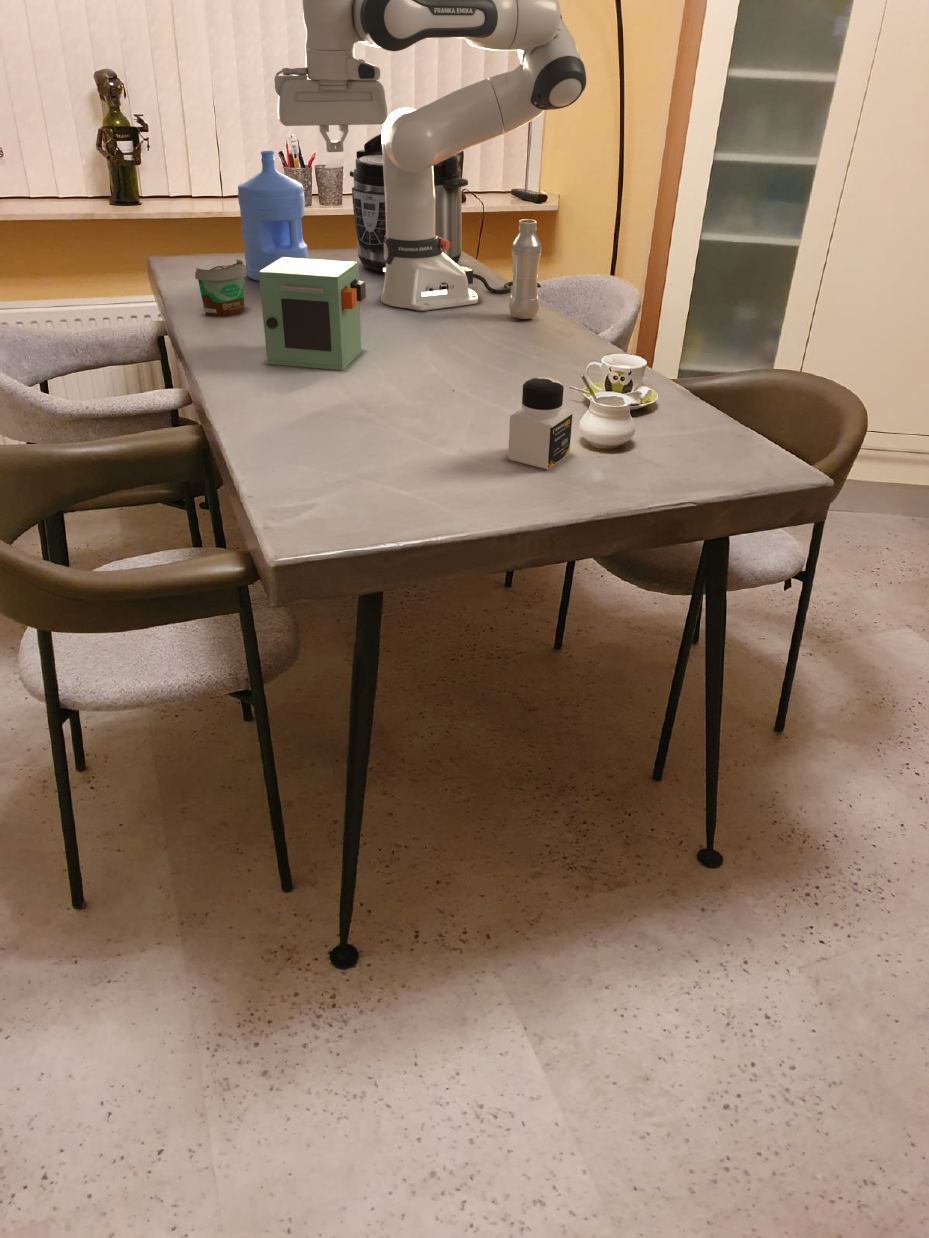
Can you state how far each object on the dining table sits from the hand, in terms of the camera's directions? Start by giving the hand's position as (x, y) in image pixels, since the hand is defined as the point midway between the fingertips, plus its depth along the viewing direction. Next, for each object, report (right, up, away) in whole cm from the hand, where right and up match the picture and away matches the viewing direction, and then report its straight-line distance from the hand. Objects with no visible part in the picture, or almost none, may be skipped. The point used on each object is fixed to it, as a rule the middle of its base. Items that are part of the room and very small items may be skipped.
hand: (335, 152), depth 182 cm
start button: (+3, -31, -5) cm, 32 cm away
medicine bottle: (+36, -64, -34) cm, 81 cm away
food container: (-27, -22, +29) cm, 45 cm away
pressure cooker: (+10, +3, +68) cm, 69 cm away
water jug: (-22, -3, +58) cm, 62 cm away
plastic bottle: (+38, -23, +29) cm, 53 cm away
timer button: (+4, -28, -1) cm, 29 cm away
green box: (-4, -38, +4) cm, 38 cm away
